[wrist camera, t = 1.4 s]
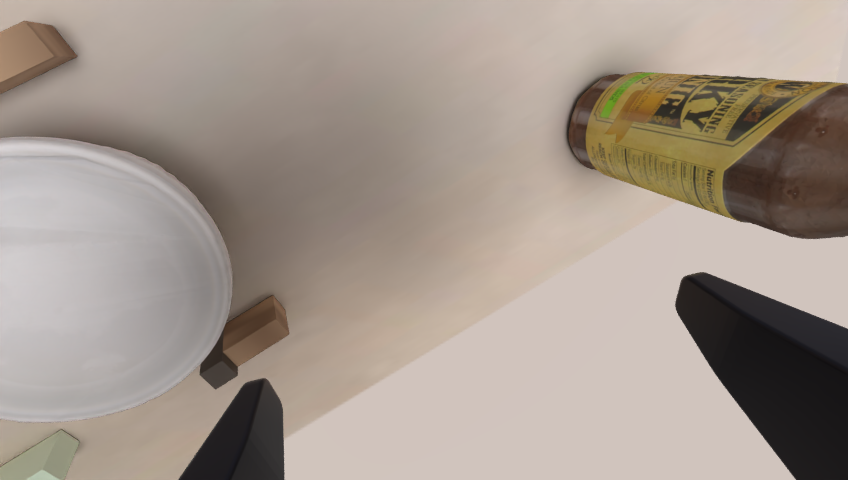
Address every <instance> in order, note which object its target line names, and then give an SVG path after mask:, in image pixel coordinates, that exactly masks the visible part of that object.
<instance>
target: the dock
mask: <svg viewBox="0 0 848 480" xmlns="http://www.w3.org/2000/svg"><path fill="white" fill-rule="evenodd" d="M79 443H80V442H79V441H78V440H76V439H75V438H73V437H72V436H70V435H69V434H67V433H66V432H64V431H63V430H60V431H58V432H57V433H55V434H53V435H52V436H50V437H48V438H47V439H45V440H43V441H42V442H40V443H39V444H37V445H35V446H34V447H32V448H30V449H29V450H27V451H26V452H24V453H22V454H21V455H19V456H17V457H16V458H14V459H12V460H11V461H9V462H8V463H6V464H4V465H3V466H1V467H0V480H64V479H65V477H66V474H67V472H68V469H69V467H70V465H71V462H72V460H73V457H74V455H75V452H76V450H77V448H78V445H79Z"/></svg>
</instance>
